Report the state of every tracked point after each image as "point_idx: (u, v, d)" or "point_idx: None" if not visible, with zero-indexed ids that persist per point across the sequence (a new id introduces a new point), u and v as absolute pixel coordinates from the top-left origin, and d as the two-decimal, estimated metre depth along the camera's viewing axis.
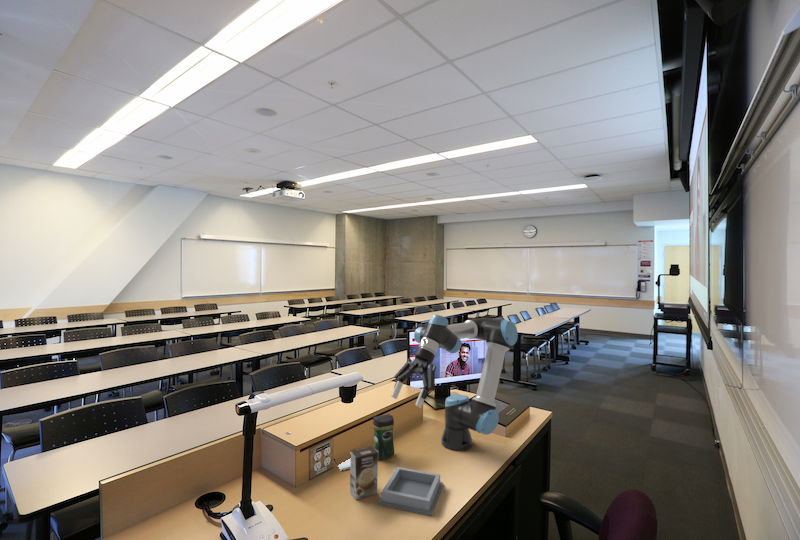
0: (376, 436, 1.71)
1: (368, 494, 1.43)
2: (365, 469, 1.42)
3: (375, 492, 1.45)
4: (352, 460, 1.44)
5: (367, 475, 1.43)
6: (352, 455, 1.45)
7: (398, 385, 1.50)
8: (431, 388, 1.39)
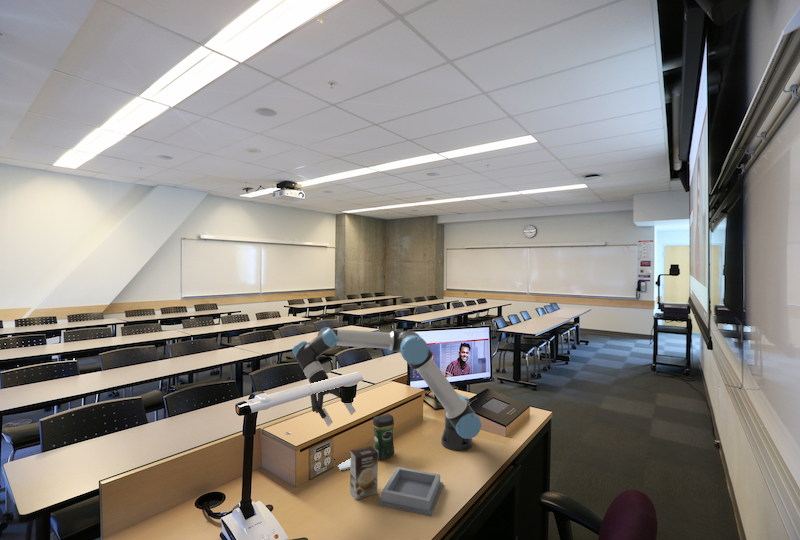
0: (376, 436, 1.71)
1: (368, 494, 1.43)
2: (365, 469, 1.42)
3: (375, 492, 1.45)
4: (352, 460, 1.44)
5: (367, 475, 1.43)
6: (352, 455, 1.45)
7: (345, 404, 1.59)
8: (313, 410, 1.46)
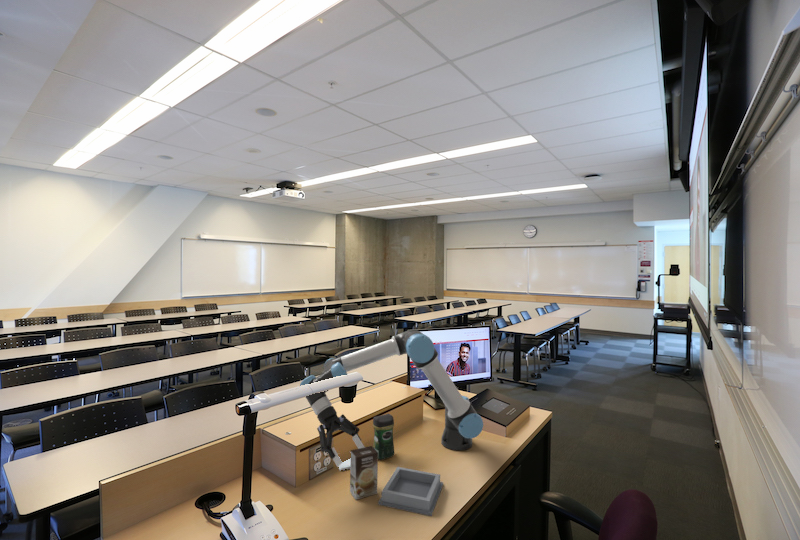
0: (376, 436, 1.71)
1: (368, 494, 1.43)
2: (365, 469, 1.42)
3: (375, 492, 1.45)
4: (352, 460, 1.44)
5: (367, 475, 1.43)
6: (352, 455, 1.45)
7: (354, 440, 1.55)
8: (322, 450, 1.43)
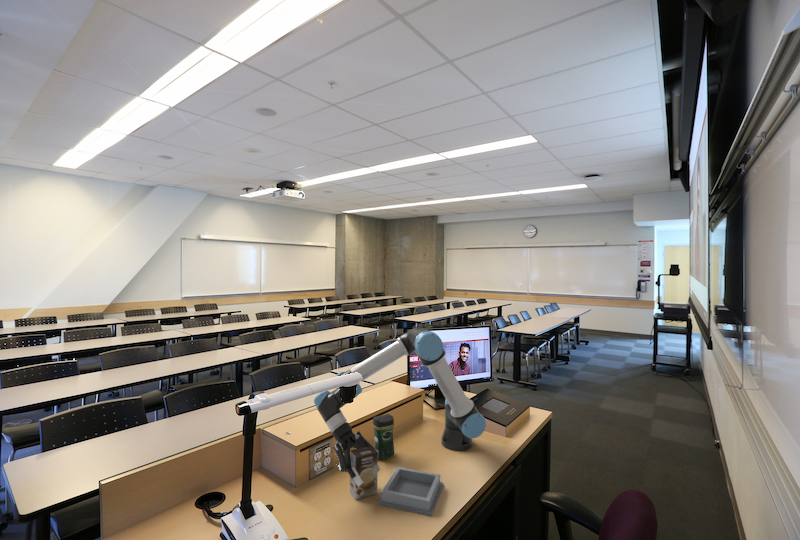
0: (376, 436, 1.71)
1: (368, 494, 1.43)
2: (365, 469, 1.42)
3: (375, 492, 1.45)
4: (352, 460, 1.44)
5: (367, 475, 1.43)
6: (352, 455, 1.44)
7: None
8: (343, 470, 1.40)
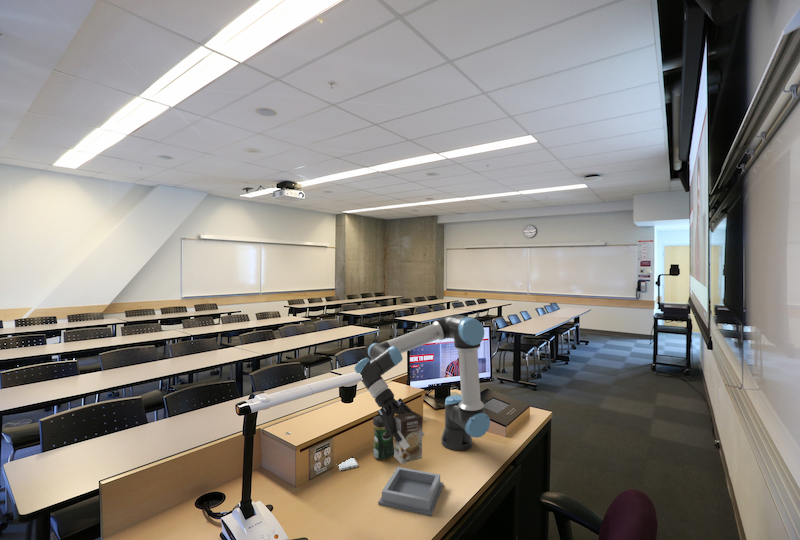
0: (376, 436, 1.71)
1: (413, 459, 1.42)
2: (410, 433, 1.41)
3: (420, 457, 1.43)
4: (396, 425, 1.43)
5: (412, 439, 1.42)
6: (397, 420, 1.43)
7: None
8: (389, 434, 1.39)
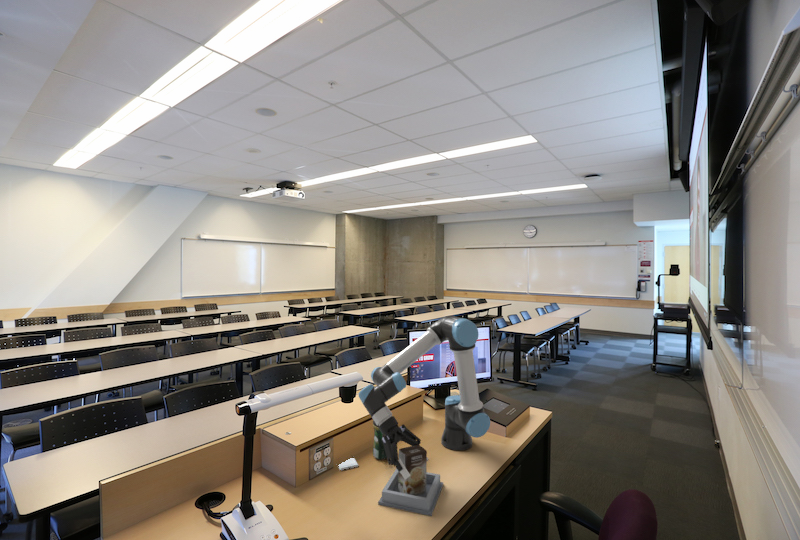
0: (376, 436, 1.71)
1: (418, 493, 1.43)
2: (414, 467, 1.42)
3: (424, 491, 1.44)
4: (401, 459, 1.44)
5: (416, 473, 1.42)
6: (401, 454, 1.44)
7: None
8: (390, 463, 1.38)
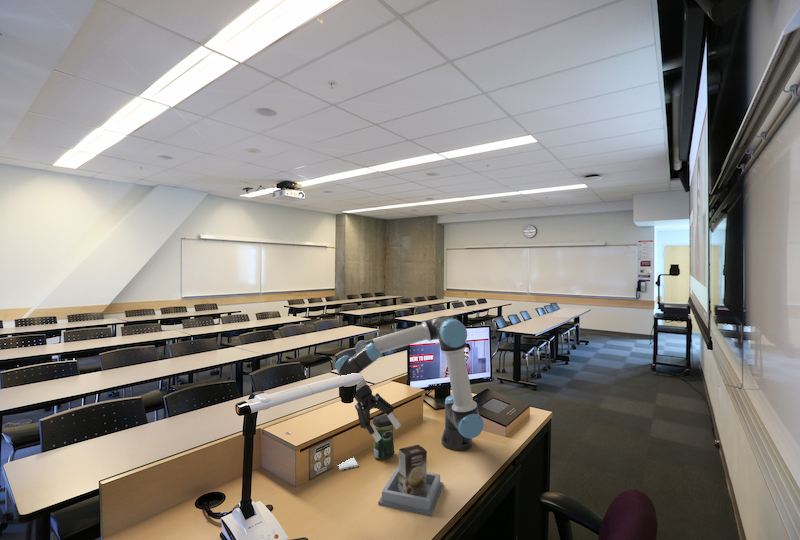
0: None
1: (418, 493, 1.43)
2: (415, 467, 1.42)
3: (424, 491, 1.44)
4: (401, 459, 1.44)
5: (416, 473, 1.42)
6: (401, 454, 1.44)
7: (390, 418, 1.58)
8: (362, 426, 1.45)
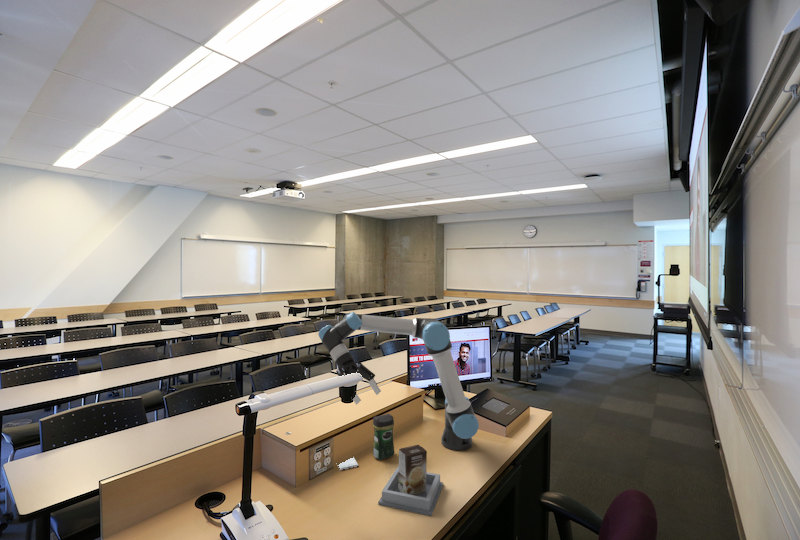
0: (376, 436, 1.71)
1: (418, 493, 1.43)
2: (415, 467, 1.42)
3: (424, 491, 1.44)
4: (401, 459, 1.44)
5: (416, 473, 1.42)
6: (401, 454, 1.44)
7: (371, 384, 1.65)
8: None
